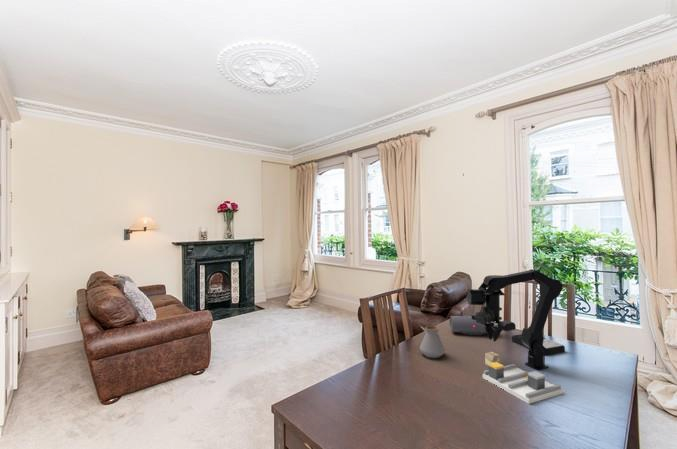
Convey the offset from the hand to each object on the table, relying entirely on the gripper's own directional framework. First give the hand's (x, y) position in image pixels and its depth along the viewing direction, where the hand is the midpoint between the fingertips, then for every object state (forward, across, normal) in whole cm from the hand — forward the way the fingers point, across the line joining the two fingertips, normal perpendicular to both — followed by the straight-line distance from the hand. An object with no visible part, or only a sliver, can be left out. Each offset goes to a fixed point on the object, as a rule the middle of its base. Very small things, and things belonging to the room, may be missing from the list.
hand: (492, 340), depth 138 cm
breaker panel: (+11, +17, -4) cm, 20 cm away
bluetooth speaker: (+11, -34, +22) cm, 42 cm away
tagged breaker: (+9, +11, -10) cm, 17 cm away
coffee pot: (+11, -24, -18) cm, 32 cm away
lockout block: (+11, 0, 0) cm, 11 cm away
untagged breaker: (+9, +22, -3) cm, 24 cm away
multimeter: (+12, -7, +38) cm, 41 cm away
